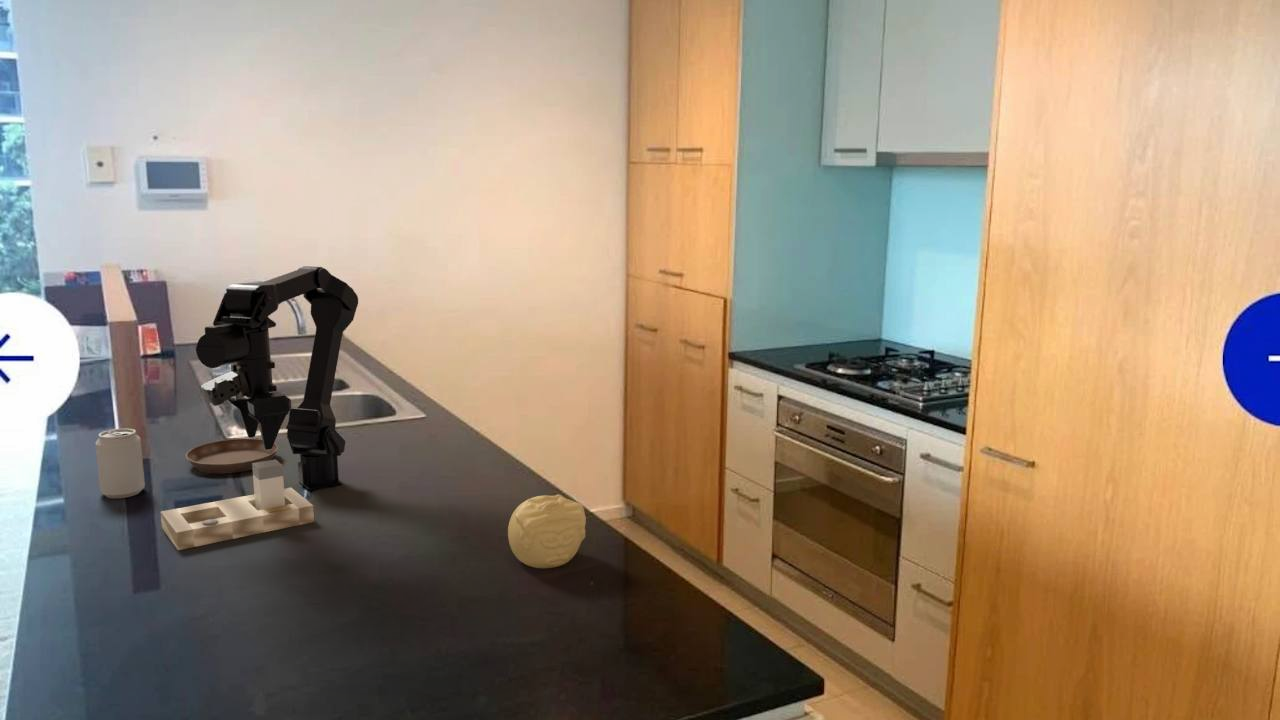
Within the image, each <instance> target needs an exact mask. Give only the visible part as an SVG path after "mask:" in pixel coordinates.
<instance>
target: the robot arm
mask: <svg viewBox="0 0 1280 720" xmlns="http://www.w3.org/2000/svg"><path fill="white" fill-rule="evenodd" d="M225 291H226V292H224V294H223V297H222V300H221V302H220V304H219V307H218V309H217V311H216V314H215V317H214V319H213V322H212V325H208V326H207V325H206V326H205V327H204V334H203V335H202V336H200V337H199V339H198V341H197V344H196V346H195V353H196V356H197V359H198V360H199V361H200V363H202V365H204V366H205V367H206V368H209V369H216V368H220V367H224V366H227V365H230V371H229V372H226V373H225V374H224V373H223V374H221V375H219V376H216V377H214V378H213V379H211V380H209V381H207V382H204V383H203V384H201V386H200V388H201V389H202V392H203V394H204V396H205V397H206V400H207V402H208V403H209V404H211V405H212V406H213V407H217V406H221V405H222V404H223V403H224V402H226V401H227V402H228V403H230V404H231V405H233V406H234V407H236V409H237V411H238V413H239V416H240V419H241V421H242V424H243V427H244V429H245V432H246V436H247V437H248V439H253V438H255V437H256V435H257V431H258V427H259V432H260V435H261V439H262V440H263V444H264V448H265V449H266V450H268V449H272V447H273V445H274V443H275V442H276V439H277V437H278V435H279V432H280V429H281V428H282V425H283V424H284V421H285V419H286V418H287V415H288V422H287V424H286V427H285V429H286V430H287V431H286V438H287V440H288V443H289V446H290V450H291V453H292V454H293V455H299V456H300V458H299V459H300V461H298V462H297V469H298V483H300V484H301V485H302V486H304V487H305V488H306V489H307V490H308V491H314V490H318V489H324V488H327V487H328V488H329V487H335V486H340V485H342V484H343V481H341V480H340V477H339V461H338V458H339V456H342V453H344V452H345V448H346V447H345V446H346V439H344V438H343V437H342V435H340V433H339V432H338V431H337V429H336V424H337V421H336V420H337V419H336V417H335V414H334V412H333V409H332V406H331V402H332V401H331V400H332V395H333V390H334V384H335V378H336V373H337V368H338V366H337V365H338V362H339V361H338V360H339V355H340V349H341V344H342V337H343V333H344V332H345V331H346V329H347V328H348V327H349V326H350V325H351V323H352V322H353V321H354V318H355V315H356V312H357V308H358V305H359V297H358V294H357V293H356V291H355V290H354V289H353V287H351V286H350V285H348V283H346V282H345V281H344V280H342V279H340V278H339V277H336V276H335V275H333V274H331V272H330V271H329V270H328V269H326V268H324V267H322V266H307V265H306V266H302V267H299V268H297V269H296V270H293V271H290V272H288V273H287V272H286V273H285V274H282V275H280V276H276V277H274V278H270V279H268V280H265V281H263V282H260V281H259V282H240V283H232V284H230V285H228V286H227V287H226V289H225ZM301 295H303V298H304V299H305V300H306V302H308V303H309V304H310V316H311V318H312V321H313V324H314V325H315V334H314V338H313V339H314V340H313V346H312V350H311V356H310V360H309V367H308V372H307V378H306V383H305V389H304V396H303V400H302V402H301V403H300V404H299V405H298V407H297V408H296V407H292V400H291V399H290V398H289V397H288V396H286V394H284V393H282V392H280V391H278V390H277V388H278V387H277V384H275V383H274V382H273V373H272V372H273V371H272V369H276V364H275V361H272V359H271V347H270V346H271V345H270V333H269V331H270V330H269V329H271V328H276V326H277V323H276V322H275V320H273V319H271V318H270V316H271V315H272V314H273V313H275V312H277V310H278V309H279V306H280V305H281V304H282V303H284V302H286V301H289V300H291V299H293V298H296V297H299V296H301Z"/></svg>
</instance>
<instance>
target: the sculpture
mask: <svg viewBox="0 0 1280 720" xmlns="http://www.w3.org/2000/svg"><path fill="white" fill-rule="evenodd" d="M585 513H586V512H585V509H584V506H583V505H582V504H581V503H579V502H576V501H574V500H572V499H568V498H566V497H564V496H563V495H561V494H559V493H558V494H555V495H546V494H544V495H537V496H533V497H531V498H528V499H526V500H525V501H523V502H522V503H520V504H518V506H517V507H516V509H515V510H514V511H513V513H512V514H511V516H510V519H509V523H508V528H507V537H508V543H509V546H510V550H511V551H512V553H513V555H514V556H515V558H516V559H517V560H519V561H520V562H521V563H522V564H524V565H526V566H528V567H530V568H531V567H532V568H535V569H553V568H557V567H561V566H563V565H566V564H567V563H568V562H570V561H571V560H572V559H573V558H574V556H575V555H576V554H577V552H578V551H579V548H580V546H581V544H582V541H584V539H585V537H586V529H585V528H586V522H587V520H586V519H587V517H586V514H585Z"/></svg>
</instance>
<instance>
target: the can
mask: <svg viewBox="0 0 1280 720" xmlns="http://www.w3.org/2000/svg"><path fill="white" fill-rule="evenodd" d="M136 433H137V431H136V429H134V428H114V429H108V430H105V431H101V432H100V433H99V434H98V439H97V440H96V442H95V443H94V445H95V451H96V452H95V453H96V463H97V474H98V482H99V491H100V493H101V494H102V495H104V496H105V497H106V498H108V499H123V498H125V499H126V498H130V497H134V496H136V495H138V494H140V493H141V492H142V491H143V489H145V487H146V483H145V482H146V481H145V471H144V461H143V453H142V441H141V437H140V436H139V435H138V434H136Z"/></svg>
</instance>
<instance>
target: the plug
mask: <svg viewBox="0 0 1280 720" xmlns="http://www.w3.org/2000/svg"><path fill="white" fill-rule="evenodd" d="M283 469H284V468H283V464H282V463H280V462H279V461H278V460H277V459H271V460H269V461H263V462H257V463H252V481H253V492H254V496H255V509H257V510H263V509H267V508H273V507H278V506H283V505H285V496H284V489H285V483H284V470H283Z"/></svg>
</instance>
